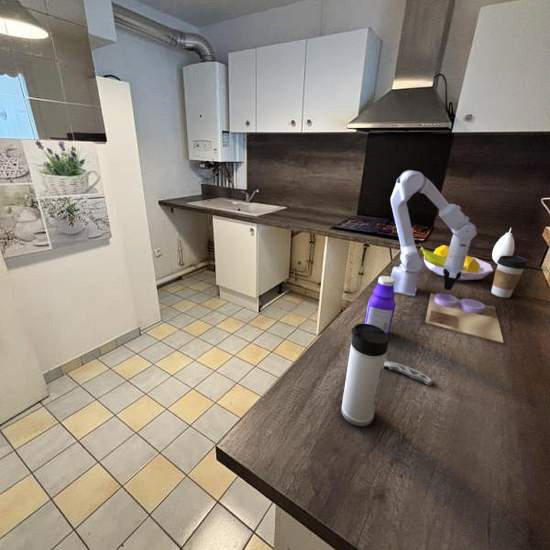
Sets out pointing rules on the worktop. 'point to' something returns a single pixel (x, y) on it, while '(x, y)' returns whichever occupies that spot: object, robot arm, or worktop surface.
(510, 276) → the coffee cup
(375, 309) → the bottle
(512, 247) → the white teardrop shape
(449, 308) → the board
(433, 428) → the worktop surface
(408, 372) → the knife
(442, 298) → the saucer
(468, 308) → the saucer
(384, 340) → the travel mug
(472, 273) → the fruit bowl
